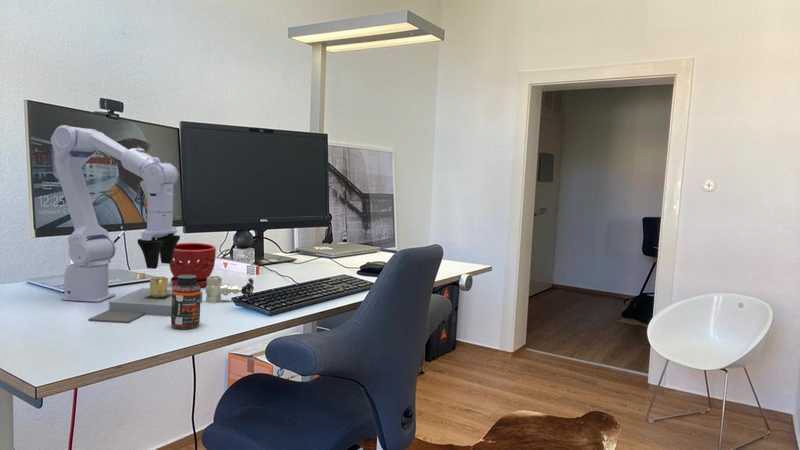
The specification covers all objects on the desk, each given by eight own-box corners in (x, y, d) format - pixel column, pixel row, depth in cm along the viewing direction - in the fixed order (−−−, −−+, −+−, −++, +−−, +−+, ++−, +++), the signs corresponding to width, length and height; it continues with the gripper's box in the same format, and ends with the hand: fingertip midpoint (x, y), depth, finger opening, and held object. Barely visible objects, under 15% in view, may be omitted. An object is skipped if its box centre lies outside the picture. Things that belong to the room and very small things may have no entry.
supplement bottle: (182, 331, 114) (183, 279, 113) (165, 326, 117) (166, 275, 116) (205, 325, 119) (206, 276, 118) (188, 320, 122) (189, 272, 121)
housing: (109, 312, 125) (109, 302, 125) (142, 297, 141) (142, 288, 141) (176, 316, 125) (176, 306, 125) (202, 300, 141) (202, 291, 141)
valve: (202, 304, 138) (249, 305, 140) (203, 279, 137) (250, 280, 139) (208, 298, 144) (253, 299, 146) (208, 274, 144) (254, 276, 145)
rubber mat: (88, 320, 118) (88, 319, 118) (110, 310, 127) (110, 309, 127) (128, 323, 118) (128, 321, 118) (147, 312, 127) (148, 311, 127)
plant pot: (158, 284, 157) (159, 244, 156) (196, 279, 168) (197, 241, 167) (186, 292, 150) (187, 250, 149) (224, 285, 161) (225, 246, 160)
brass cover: (146, 307, 131) (147, 278, 130) (154, 304, 135) (154, 275, 134) (162, 308, 131) (163, 279, 130) (169, 304, 135) (170, 276, 134)
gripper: (163, 214, 124) (161, 271, 125) (188, 210, 138) (187, 262, 139) (132, 212, 124) (132, 270, 125) (161, 209, 138) (160, 260, 139)
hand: (159, 265), depth 132 cm, fingers open, 7 cm apart
